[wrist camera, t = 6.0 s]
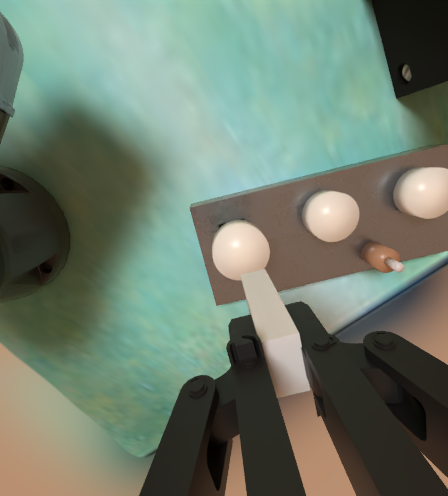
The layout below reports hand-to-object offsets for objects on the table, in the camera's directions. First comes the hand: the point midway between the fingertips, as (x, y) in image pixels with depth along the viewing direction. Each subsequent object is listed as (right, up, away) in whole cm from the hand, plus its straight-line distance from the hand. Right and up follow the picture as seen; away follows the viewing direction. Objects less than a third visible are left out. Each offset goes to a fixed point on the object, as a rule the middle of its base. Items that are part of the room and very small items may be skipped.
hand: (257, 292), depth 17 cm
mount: (+9, +5, +18) cm, 21 cm away
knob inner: (-1, +4, +13) cm, 14 cm away
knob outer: (+18, +10, +16) cm, 26 cm away
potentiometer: (+15, +2, +16) cm, 22 cm away
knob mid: (+9, +7, +17) cm, 20 cm away
